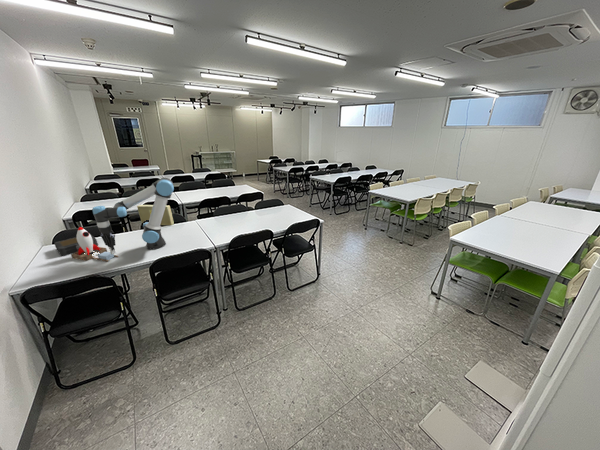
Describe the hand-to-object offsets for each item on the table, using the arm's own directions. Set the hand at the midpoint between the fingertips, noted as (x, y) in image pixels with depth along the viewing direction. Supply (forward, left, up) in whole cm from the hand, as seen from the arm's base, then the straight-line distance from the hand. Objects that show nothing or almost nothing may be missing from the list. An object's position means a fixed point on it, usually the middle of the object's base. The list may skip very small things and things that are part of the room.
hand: (113, 253), depth 187 cm
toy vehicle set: (+31, -71, -6) cm, 78 cm away
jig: (+20, 0, -6) cm, 21 cm away
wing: (+10, 0, -6) cm, 11 cm away
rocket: (+28, 0, -6) cm, 29 cm away
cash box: (+53, -6, -6) cm, 53 cm away
